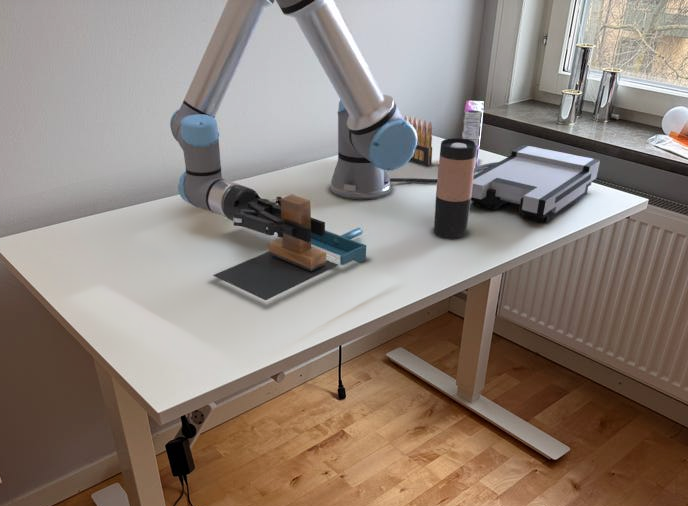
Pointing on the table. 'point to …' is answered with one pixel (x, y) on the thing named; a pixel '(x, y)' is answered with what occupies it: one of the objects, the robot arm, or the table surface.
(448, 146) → the travel mug
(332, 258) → the chalk
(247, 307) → the table surface
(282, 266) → the chalkboard
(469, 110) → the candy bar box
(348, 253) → the dustpan
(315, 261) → the wooden block on base
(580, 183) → the game console
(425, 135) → the ammunition clip
